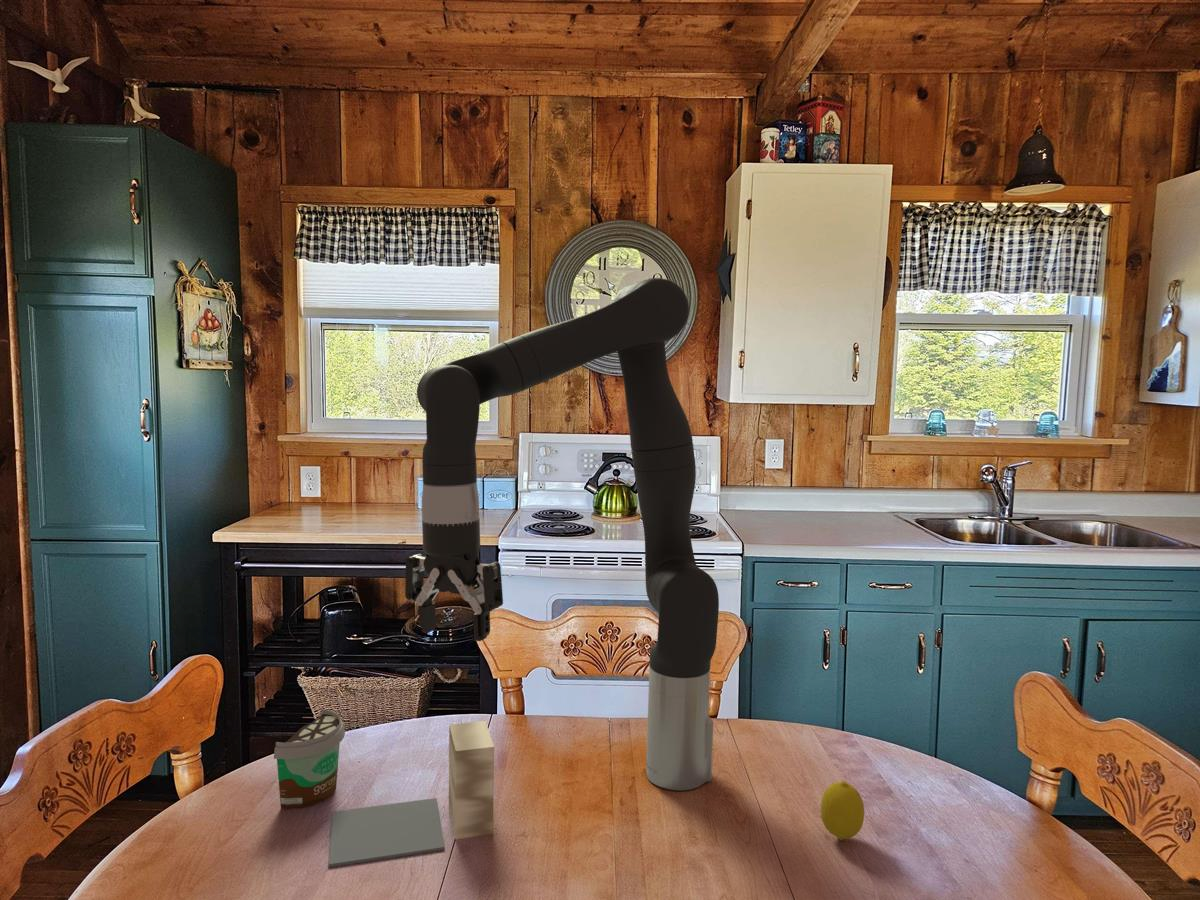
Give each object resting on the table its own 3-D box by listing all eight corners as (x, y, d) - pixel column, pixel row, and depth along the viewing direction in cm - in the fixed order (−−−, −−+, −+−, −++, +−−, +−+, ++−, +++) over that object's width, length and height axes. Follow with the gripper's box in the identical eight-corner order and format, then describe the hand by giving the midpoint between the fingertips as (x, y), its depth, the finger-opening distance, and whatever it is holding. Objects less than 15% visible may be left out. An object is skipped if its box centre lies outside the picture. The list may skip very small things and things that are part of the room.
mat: (436, 800, 109) (436, 797, 109) (444, 849, 98) (444, 846, 98) (332, 814, 105) (332, 811, 105) (328, 867, 94) (328, 864, 94)
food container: (314, 820, 104) (314, 749, 103) (274, 814, 105) (273, 744, 104) (360, 775, 116) (360, 711, 115) (323, 770, 117) (323, 707, 116)
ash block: (484, 802, 109) (485, 720, 108) (493, 833, 102) (494, 746, 101) (448, 806, 108) (449, 724, 107) (454, 839, 100) (455, 751, 99)
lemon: (840, 856, 98) (843, 796, 98) (810, 833, 103) (813, 776, 103) (871, 845, 101) (875, 787, 100) (840, 823, 106) (843, 768, 105)
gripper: (511, 515, 102) (514, 634, 104) (425, 508, 108) (429, 620, 110) (479, 525, 95) (482, 651, 97) (389, 517, 101) (393, 636, 103)
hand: (454, 635), depth 103 cm, fingers open, 8 cm apart
